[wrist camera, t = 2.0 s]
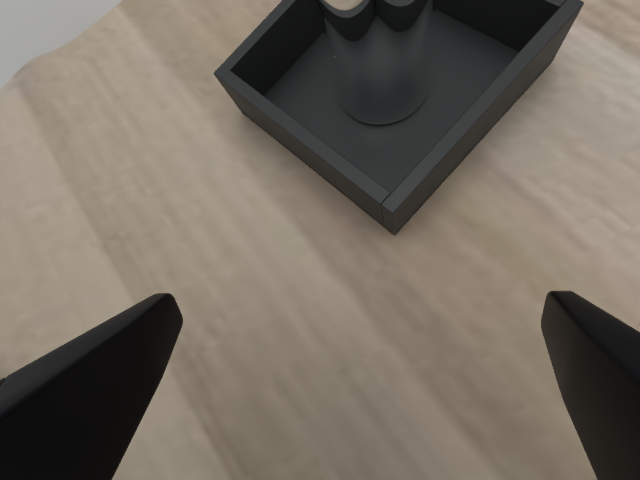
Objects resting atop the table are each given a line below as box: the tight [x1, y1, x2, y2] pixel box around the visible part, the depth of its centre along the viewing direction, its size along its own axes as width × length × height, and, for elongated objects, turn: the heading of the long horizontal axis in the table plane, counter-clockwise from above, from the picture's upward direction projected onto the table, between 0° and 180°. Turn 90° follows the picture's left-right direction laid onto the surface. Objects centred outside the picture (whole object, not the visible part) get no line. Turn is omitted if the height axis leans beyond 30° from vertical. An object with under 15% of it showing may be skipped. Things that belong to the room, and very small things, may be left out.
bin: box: [214, 0, 584, 235], centre depth 22 cm, size 15×15×4 cm
